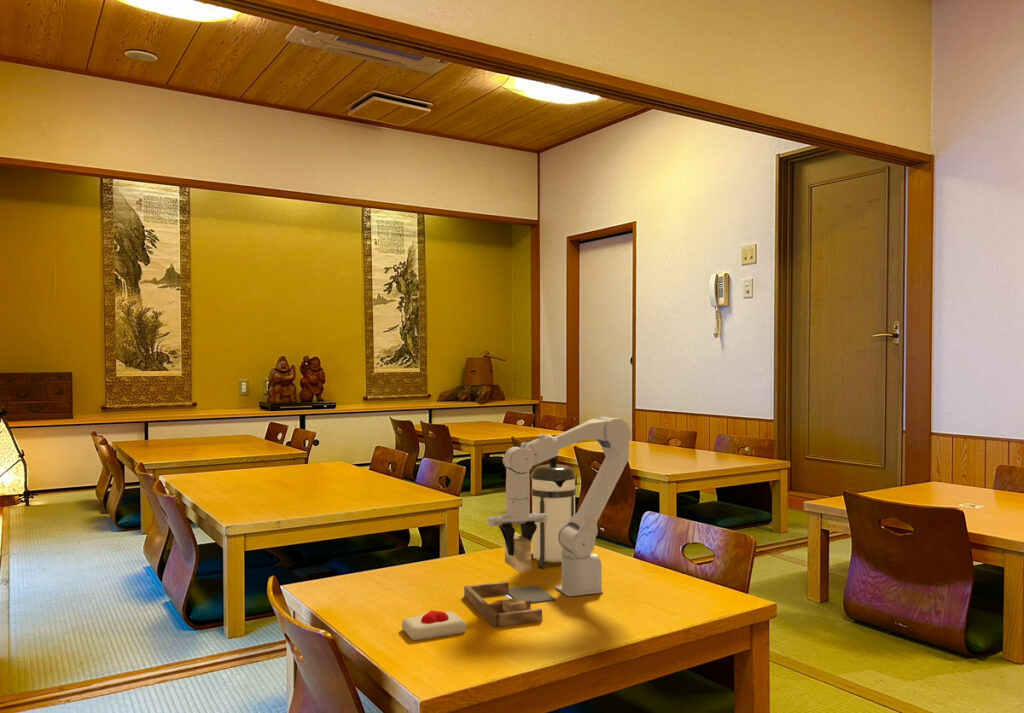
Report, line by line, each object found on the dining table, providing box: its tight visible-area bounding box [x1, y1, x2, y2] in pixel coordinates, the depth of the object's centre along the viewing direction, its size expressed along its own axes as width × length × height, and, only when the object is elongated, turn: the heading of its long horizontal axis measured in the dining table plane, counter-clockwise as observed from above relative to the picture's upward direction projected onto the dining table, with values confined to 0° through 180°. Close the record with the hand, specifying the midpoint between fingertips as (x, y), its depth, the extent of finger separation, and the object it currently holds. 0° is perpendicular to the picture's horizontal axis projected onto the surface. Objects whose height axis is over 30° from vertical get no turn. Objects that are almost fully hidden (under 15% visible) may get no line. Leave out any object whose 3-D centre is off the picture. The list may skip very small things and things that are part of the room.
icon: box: [401, 610, 467, 641], centre depth 162 cm, size 12×4×10 cm
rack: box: [463, 581, 543, 628], centre depth 176 cm, size 11×23×2 cm, turn 20°
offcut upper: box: [502, 598, 526, 612], centre depth 170 cm, size 4×4×2 cm
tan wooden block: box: [504, 532, 532, 573], centre depth 185 cm, size 3×10×7 cm, turn 20°
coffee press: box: [530, 456, 577, 569], centre depth 217 cm, size 17×16×30 cm
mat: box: [506, 584, 557, 604], centre depth 186 cm, size 9×12×1 cm
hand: (517, 554), depth 185 cm, fingers closed on tan wooden block, 3 cm apart
